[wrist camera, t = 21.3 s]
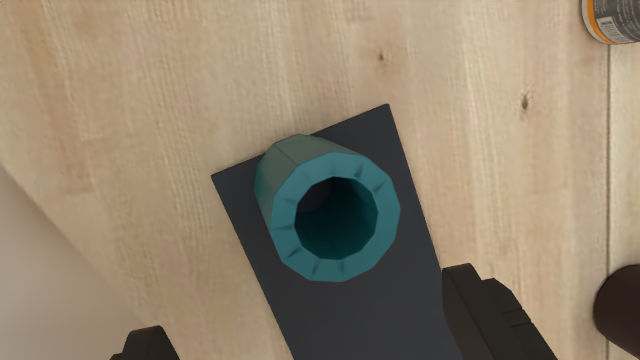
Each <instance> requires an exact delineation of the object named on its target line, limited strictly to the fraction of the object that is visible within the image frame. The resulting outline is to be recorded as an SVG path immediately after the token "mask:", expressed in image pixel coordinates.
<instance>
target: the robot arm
mask: <svg viewBox="0 0 640 360" xmlns="http://www.w3.org/2000/svg"><path fill="white" fill-rule="evenodd" d="M442 295H443V310H444V315H445V318H446V322H447V324H448V327H449V329H450V331H451V334H452V336H453V338H454V340H455V342H456V345H457V347H458V349H459V351H460V353H461V355H462V358H463V360H558V359H557V358H556V356H555V355H554V353H553V352H552V350H551V349H550V347H549V346H548V344H547V343H546V341H545V340H544V338H543V337H542V336H541V334H540V333H539V331H538V330H537V328H536V327H535V325H534V324H533V323H531V319H530V318H529V316H528V315H527V313H526V312H525V310H523V309H522V306H521V305H520V303H519V302H518V300H517V299H516V297H515V296H514V294H513V293H512V291H511V290H510V289H508V288H507V287H506V286H504V285H503V284H502V283H500V282H499V281H497V280H496V279H495V278H491V279H486V280H481V278H480V277H479V275H478V274H477V272H476V270H475V269H474V267H473V266H472V265H471V264H470V263H466V264H461V265H456V266H451V267H446V268H443V269H442ZM110 360H180V359H179V356H178V355H177V353H176V351H175V349H174V347H173V345H172V344H171V342H170V340H169V338H168V336H167V335H166V333H165V331H164V329H163V328H162V327H161V326H160V325H158V326H153V327H148V328H143V329H138V330H134V331H131V332H130V333H129V335H128V337H127V340H126V342H125V345H124V348H123V351H122V353H119V354H114V355H113V356H112V357H111V359H110Z"/></svg>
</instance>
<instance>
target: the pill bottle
mask: <svg viewBox="0 0 640 360" xmlns="http://www.w3.org/2000/svg"><path fill="white" fill-rule="evenodd" d="M582 15H583V19H584V23H585V25H586V27H587V29H588V31H589V32H590V33H591V35H592V36H593V37H594V38H596V39H597V40H599V41H601V42H603V43H606V44H627V43H635V42H640V0H582Z"/></svg>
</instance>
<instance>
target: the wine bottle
mask: <svg viewBox="0 0 640 360" xmlns="http://www.w3.org/2000/svg"><path fill="white" fill-rule="evenodd" d="M594 317H595V322H596V325H597V327H598V329H599V331H600V332H601V333H602V334H603V335H604V336H605V337H606V338H607V339H608V340H609V341H611V342H612V343H614V344H615V345H617V346H619V347H620V348H622V349H623V350H625V351H627V352H628V353H630V354H631V355H633V356H634V357H636V358H638V359H639V360H640V265H633V266H629V267H625V268H623V269H621V270H620V271H618V272H617V273H615V274H614V275H613V276H612V277H611V278H610V279H609V280H608V281H607V282H606V283H605V285H604V286H603V287H602V289H601V291H600V293H599V295H598V298H597V300H596V304H595V310H594Z"/></svg>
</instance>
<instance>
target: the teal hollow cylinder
mask: <svg viewBox="0 0 640 360" xmlns="http://www.w3.org/2000/svg"><path fill="white" fill-rule="evenodd" d="M331 177H332V178H333V180H332V186H331V192H330V195H329V197H328V198H327V199H326V200H325V202H324V203H323V204H322V205H321V207H319V208H316V209H314V210H312V211H309V212H307V213H301V212H296V211H297V204H298V203H299V201H300V200H301V199H302V197H303V196H304V195H305V194H306V192H307V191H308V190H309V189H310V187H311V186H312V185H314V184H317V183H319V182H321V181H324V180H326V179H328V178H331ZM254 194H255V196H256V199H257V202H258V204H259V207H260V209H261V212H262V215H263V217H264V220H265V222H266V225H267V228H268V230H269V233H270V235H271V237H272V240H273V242H274V244H275V247H276V249H277V251H278V254H279V256H280V258H281V261H282V262H283V263H284V264H286V265H287V266H289V267H290V268H292V269H293V270H295V271H296V272H298V273H299V274H301V275H302V276H304V277H305V278H307V279H308V280H313V281H332V282H342V281H346V280H348V279H350V278H352V277H354V276H357V275H359V274H361V273H363V272H365V271H367V270H369V269H372V268H373V267H374V266H375V265H376V263H377V262H378V261H379V260H380V258H381V257H382V256H383V255H384V253H385V252H386V251H387V250H388V248H389V247H390V246H391V245H392V243H393V241H394V240H395V236H396V231H397V226H398V221H399V216H400V211H401V209H400V204H399V201H398V198H397V195H396V192H395V189H394V186H393V183H392V180H391V178H390V176H389V175H388V174H387V173H385V172H384V171H383V170H382V169H381V168H379V167H378V166H377V165H376V164H375V163H373V162H372V161H371V160H370V159H369V158H368V157H366V156H364V155H362V154H359V153H357V152H355V151H352V150H350V149H348V148H345V147H343V146H340V145H338V144H336V143H333V142H331V141H329V140H326V139H324V138H321V137H314V136H308V135H301V134H298V135H294V136H291V137H289V138H287V139H284V140H282V141H279V142H277V143H274V145H272V146H271V147H270V149H269V150H268V151H267V152H266V154H265V155H264V156H263V158H262V159H261V160H260V161H259V163H258V164H257V167H256V174H255V181H254Z"/></svg>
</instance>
